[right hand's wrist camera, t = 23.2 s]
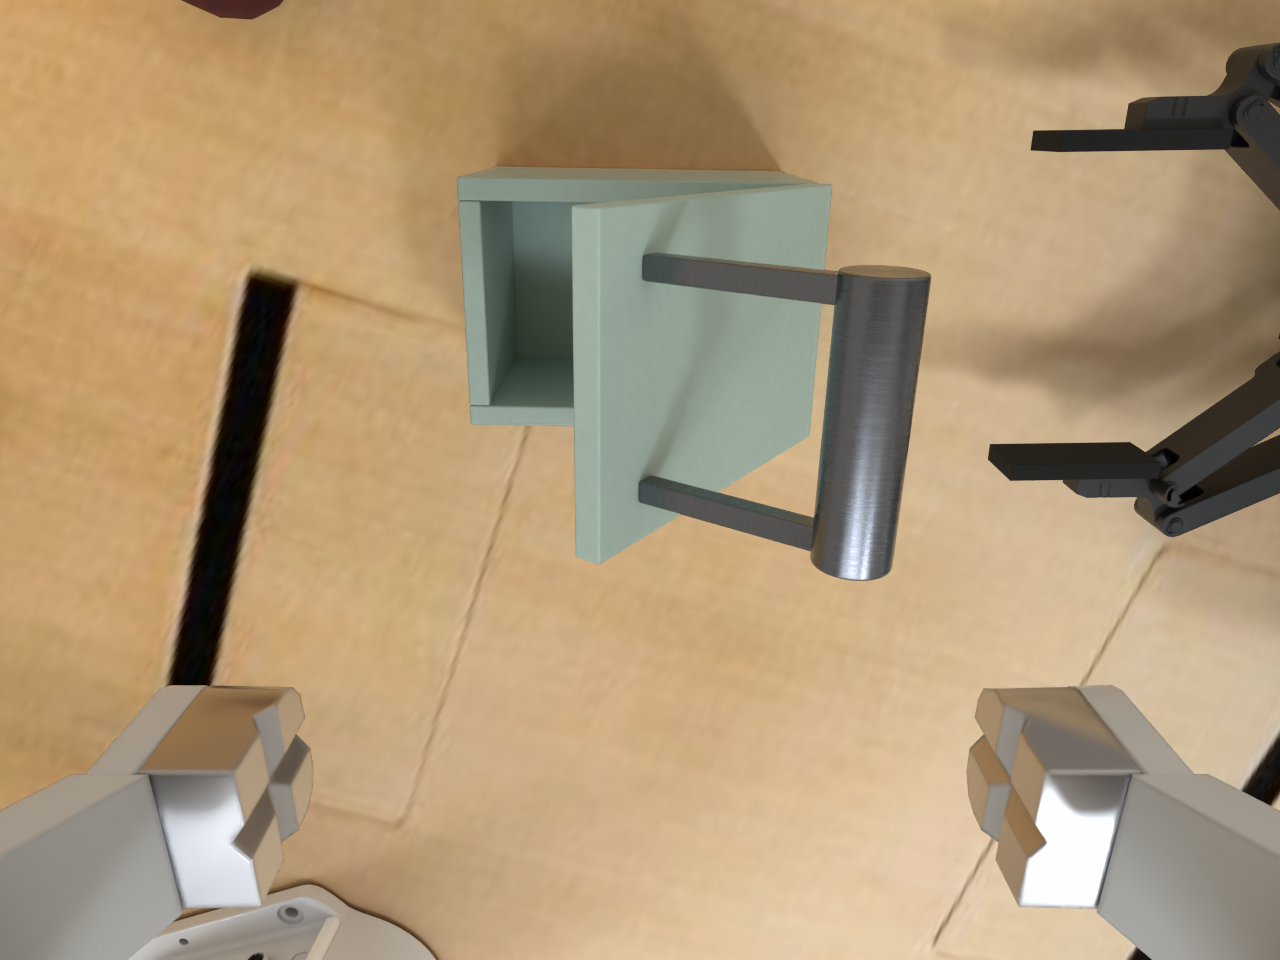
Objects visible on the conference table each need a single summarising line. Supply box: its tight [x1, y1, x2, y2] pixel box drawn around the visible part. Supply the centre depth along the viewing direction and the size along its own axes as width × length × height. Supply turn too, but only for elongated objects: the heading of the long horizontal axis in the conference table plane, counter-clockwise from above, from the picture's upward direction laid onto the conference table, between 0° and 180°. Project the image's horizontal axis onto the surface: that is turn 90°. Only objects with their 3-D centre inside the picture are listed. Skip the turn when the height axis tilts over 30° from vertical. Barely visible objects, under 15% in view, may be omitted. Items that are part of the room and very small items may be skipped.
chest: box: [457, 166, 818, 426], centre depth 39 cm, size 14×10×10 cm
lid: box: [572, 183, 931, 581], centre depth 27 cm, size 14×10×8 cm
